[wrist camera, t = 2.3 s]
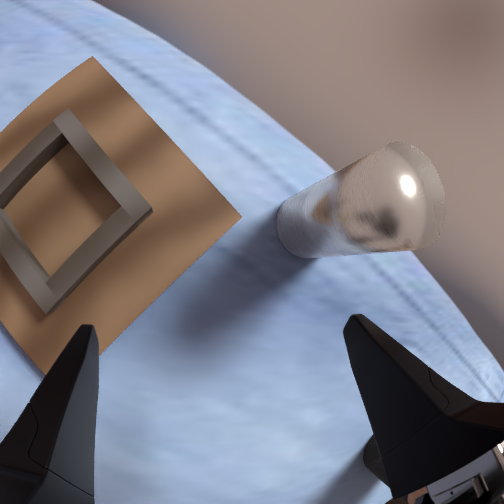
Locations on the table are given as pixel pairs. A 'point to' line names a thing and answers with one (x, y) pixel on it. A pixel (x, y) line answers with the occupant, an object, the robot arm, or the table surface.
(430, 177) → the steel cup
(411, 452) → the robot arm
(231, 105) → the table surface
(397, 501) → the coffee mug
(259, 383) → the table surface
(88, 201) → the brown flat square board
